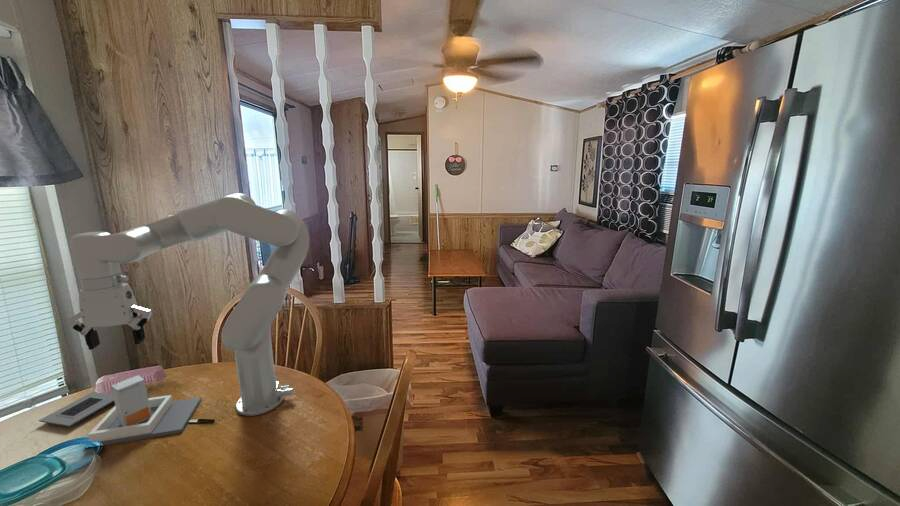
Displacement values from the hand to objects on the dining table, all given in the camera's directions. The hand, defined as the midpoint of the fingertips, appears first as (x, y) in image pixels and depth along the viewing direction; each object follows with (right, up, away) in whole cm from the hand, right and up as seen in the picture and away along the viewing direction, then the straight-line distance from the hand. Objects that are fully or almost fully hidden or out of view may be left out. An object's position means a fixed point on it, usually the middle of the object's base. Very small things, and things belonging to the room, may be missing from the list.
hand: (117, 344), depth 93 cm
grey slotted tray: (-19, -23, +10) cm, 32 cm away
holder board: (+3, -23, +6) cm, 24 cm away
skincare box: (0, -23, +5) cm, 23 cm away
